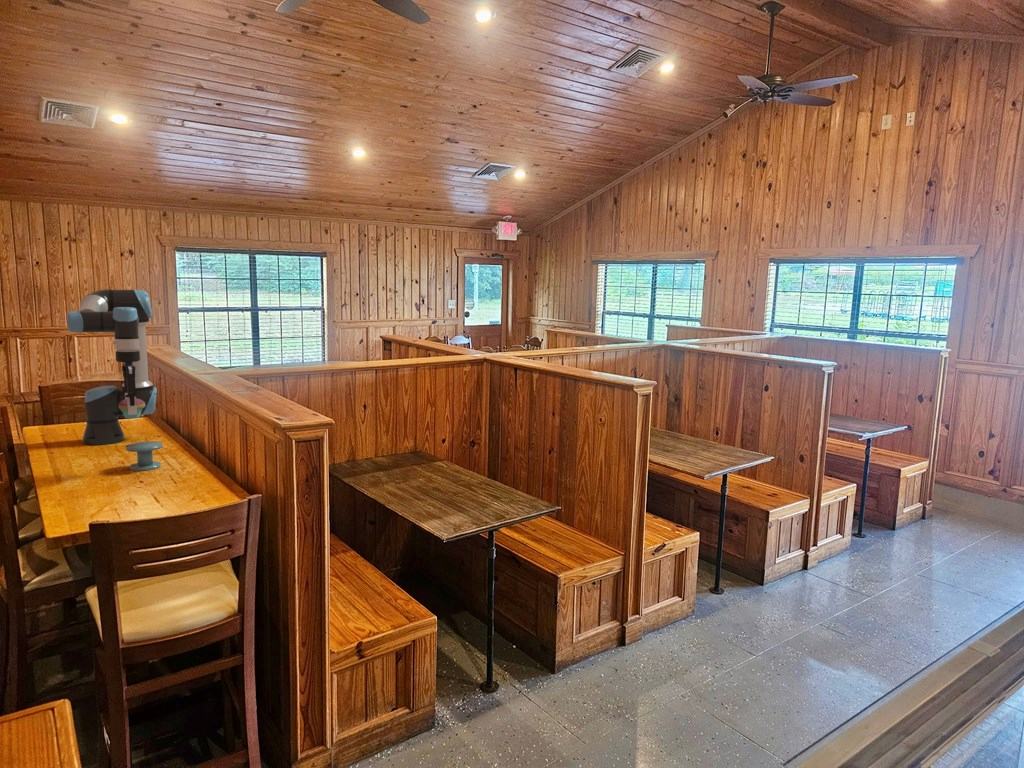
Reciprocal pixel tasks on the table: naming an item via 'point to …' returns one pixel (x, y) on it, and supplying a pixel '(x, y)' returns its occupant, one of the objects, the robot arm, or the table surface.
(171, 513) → the table surface
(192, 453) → the table surface
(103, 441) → the robot arm
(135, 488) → the table surface
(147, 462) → the cake stand
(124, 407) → the cupcake
